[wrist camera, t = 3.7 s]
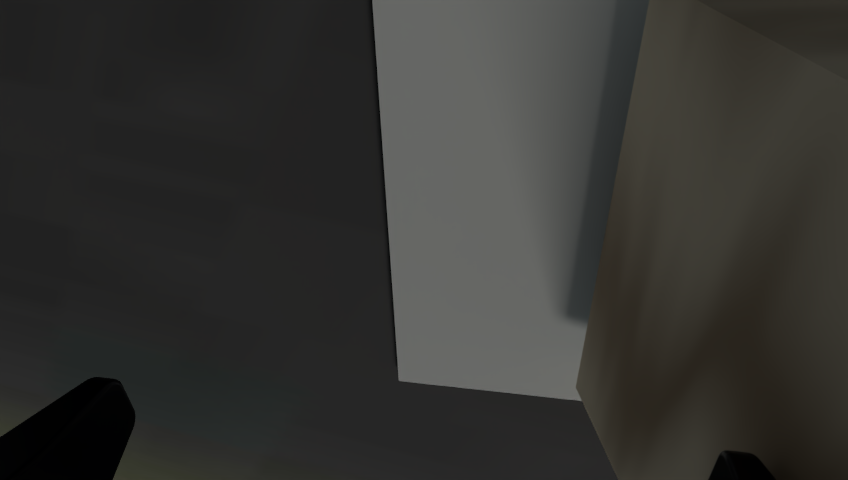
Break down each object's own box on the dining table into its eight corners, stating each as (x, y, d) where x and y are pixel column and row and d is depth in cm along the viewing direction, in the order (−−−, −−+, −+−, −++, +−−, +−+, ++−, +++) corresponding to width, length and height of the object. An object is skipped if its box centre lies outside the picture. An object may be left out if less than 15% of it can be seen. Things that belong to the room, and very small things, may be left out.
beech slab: (698, 362, 16) (961, 742, 10) (572, 381, 16) (761, 789, 9) (842, -39, 10) (1749, 249, 4) (647, -27, 10) (1299, 320, 3)
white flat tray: (1059, 444, 16) (1067, 454, 16) (400, 373, 19) (398, 380, 19) (1694, -198, 8) (1728, -196, 8) (364, -173, 11) (360, -172, 10)
